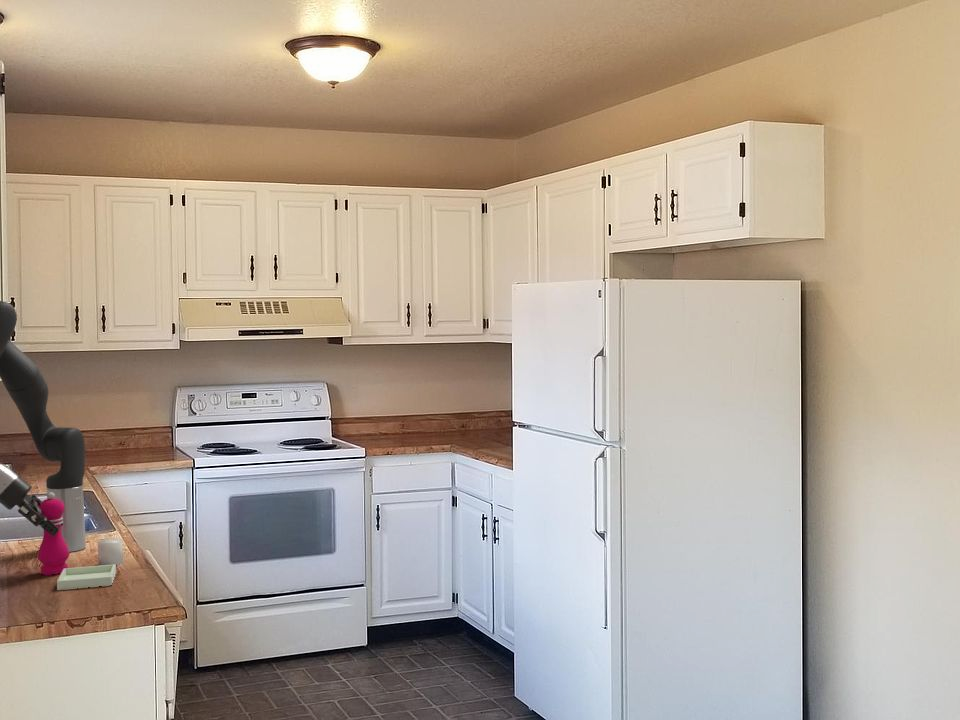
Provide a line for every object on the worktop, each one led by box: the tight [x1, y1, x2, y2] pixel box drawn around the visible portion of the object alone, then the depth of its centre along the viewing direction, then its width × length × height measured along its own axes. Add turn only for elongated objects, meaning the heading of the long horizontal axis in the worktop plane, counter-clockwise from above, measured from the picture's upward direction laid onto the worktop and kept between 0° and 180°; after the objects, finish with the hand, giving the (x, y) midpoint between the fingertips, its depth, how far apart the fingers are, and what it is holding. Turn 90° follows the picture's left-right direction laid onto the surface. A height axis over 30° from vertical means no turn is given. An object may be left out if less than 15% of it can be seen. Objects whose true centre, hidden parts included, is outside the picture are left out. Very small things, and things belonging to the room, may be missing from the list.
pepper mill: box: [37, 492, 70, 576], centre depth 266 cm, size 7×7×20 cm
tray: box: [56, 564, 117, 591], centre depth 257 cm, size 13×12×2 cm
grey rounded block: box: [97, 538, 124, 566], centre depth 274 cm, size 6×6×6 cm
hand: (58, 529), depth 266 cm, fingers open, 7 cm apart
